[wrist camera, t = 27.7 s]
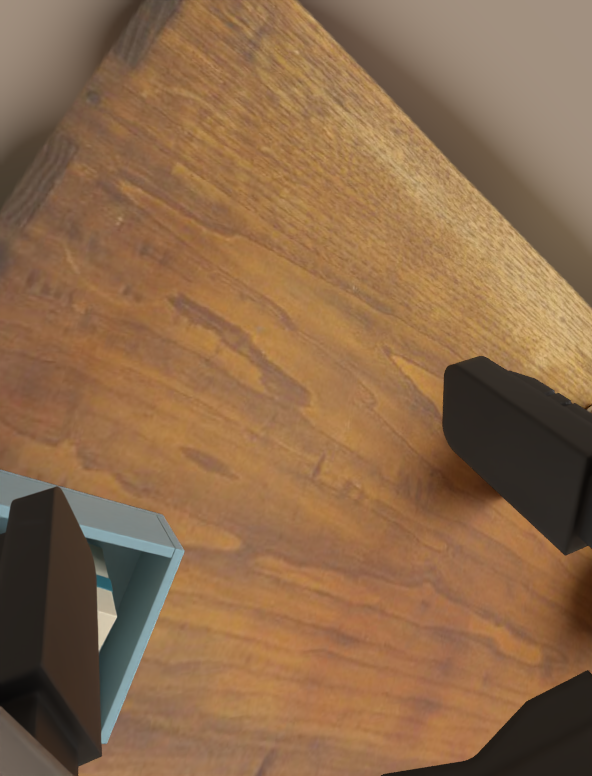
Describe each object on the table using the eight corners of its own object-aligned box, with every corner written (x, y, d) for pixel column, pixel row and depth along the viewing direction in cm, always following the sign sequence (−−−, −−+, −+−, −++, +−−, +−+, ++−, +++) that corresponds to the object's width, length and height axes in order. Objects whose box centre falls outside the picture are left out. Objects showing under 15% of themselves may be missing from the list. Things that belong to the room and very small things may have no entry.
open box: (-96, 648, 29) (-135, 727, 23) (-15, 465, 30) (-32, 496, 24) (98, 673, 34) (106, 744, 28) (163, 514, 35) (185, 550, 29)
